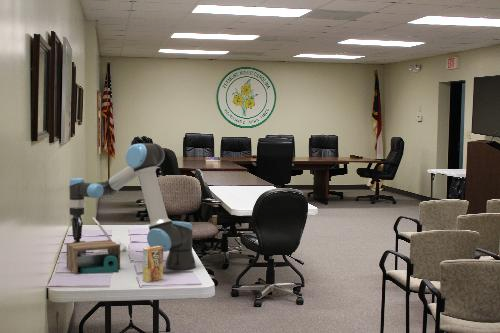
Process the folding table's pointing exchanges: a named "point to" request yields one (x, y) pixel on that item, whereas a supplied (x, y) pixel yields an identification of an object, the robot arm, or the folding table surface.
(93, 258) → the dark grey block
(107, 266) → the bracket
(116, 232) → the folding table surface
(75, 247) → the tunnel
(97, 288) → the folding table surface
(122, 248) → the tablet stand
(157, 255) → the candy box
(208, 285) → the folding table surface
